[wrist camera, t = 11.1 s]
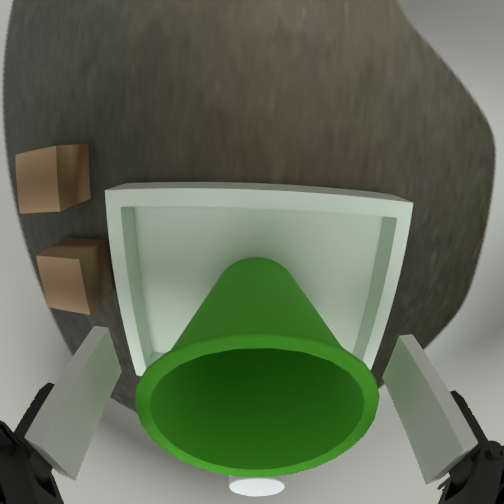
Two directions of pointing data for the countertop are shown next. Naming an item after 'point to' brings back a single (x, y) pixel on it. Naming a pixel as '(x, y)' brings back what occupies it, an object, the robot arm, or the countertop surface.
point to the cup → (256, 381)
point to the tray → (253, 254)
